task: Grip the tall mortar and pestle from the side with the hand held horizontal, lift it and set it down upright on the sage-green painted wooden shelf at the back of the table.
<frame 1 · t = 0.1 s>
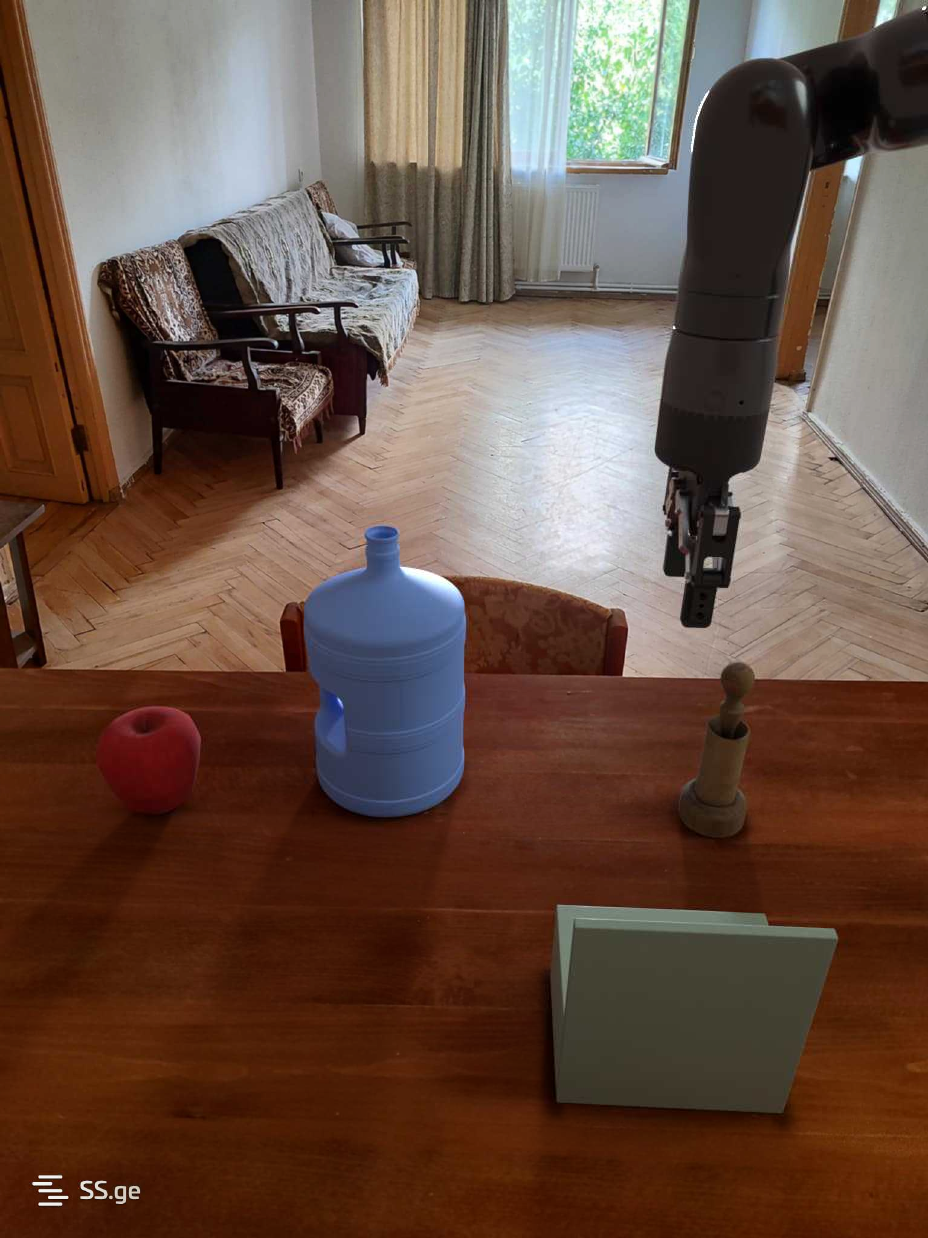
hand: (684, 598, 70), 28 cm above the table, tool pointing down, fingers open, 8 cm apart
mortar and pestle: (710, 817, 89), on the table
apple: (160, 803, 90), on the table
water jug: (391, 773, 95), on the table
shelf: (657, 1035, 68), on the table
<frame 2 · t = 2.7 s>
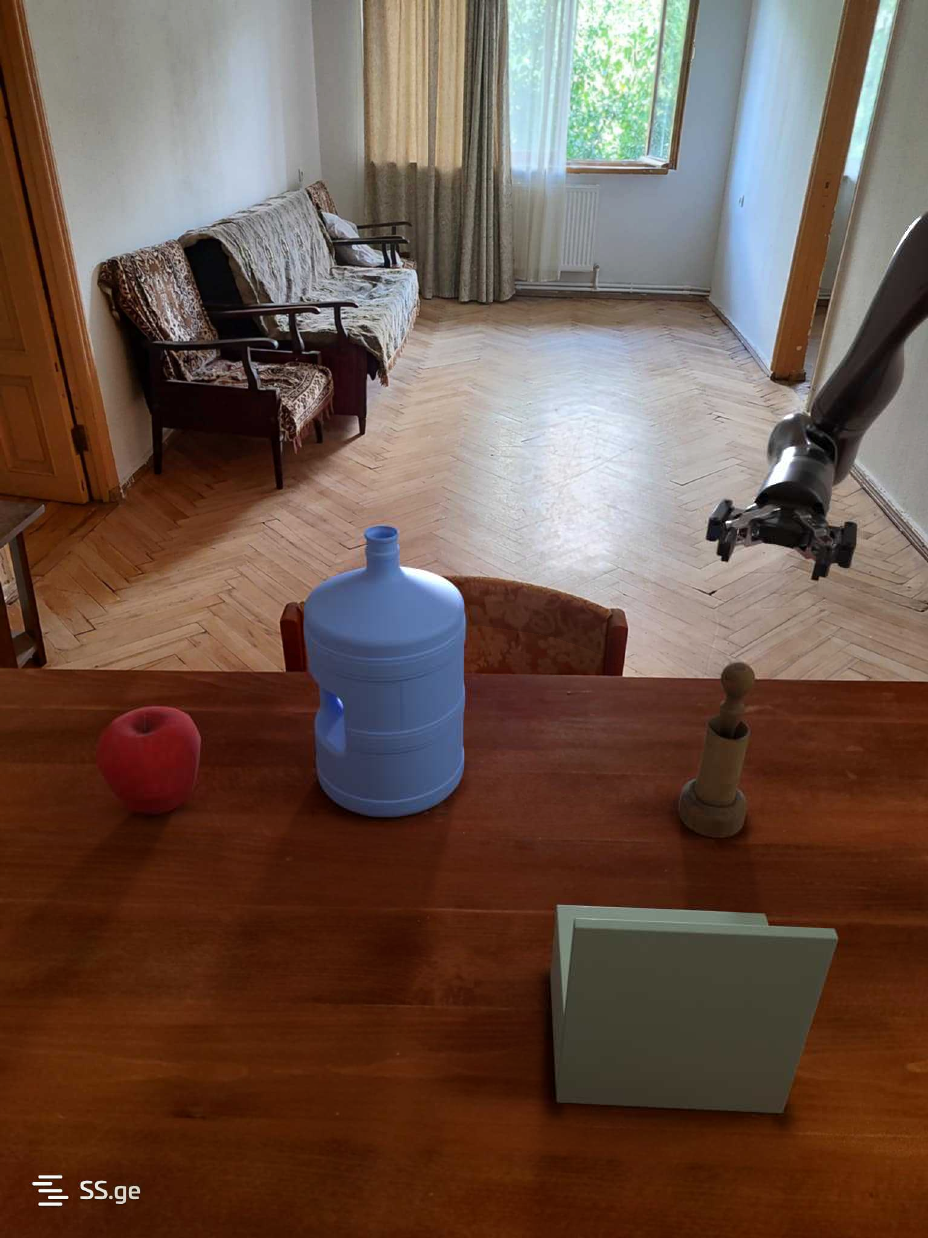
hand: (770, 562, 85), 24 cm above the table, tool horizontal, fingers open, 8 cm apart
nothing on the table moved.
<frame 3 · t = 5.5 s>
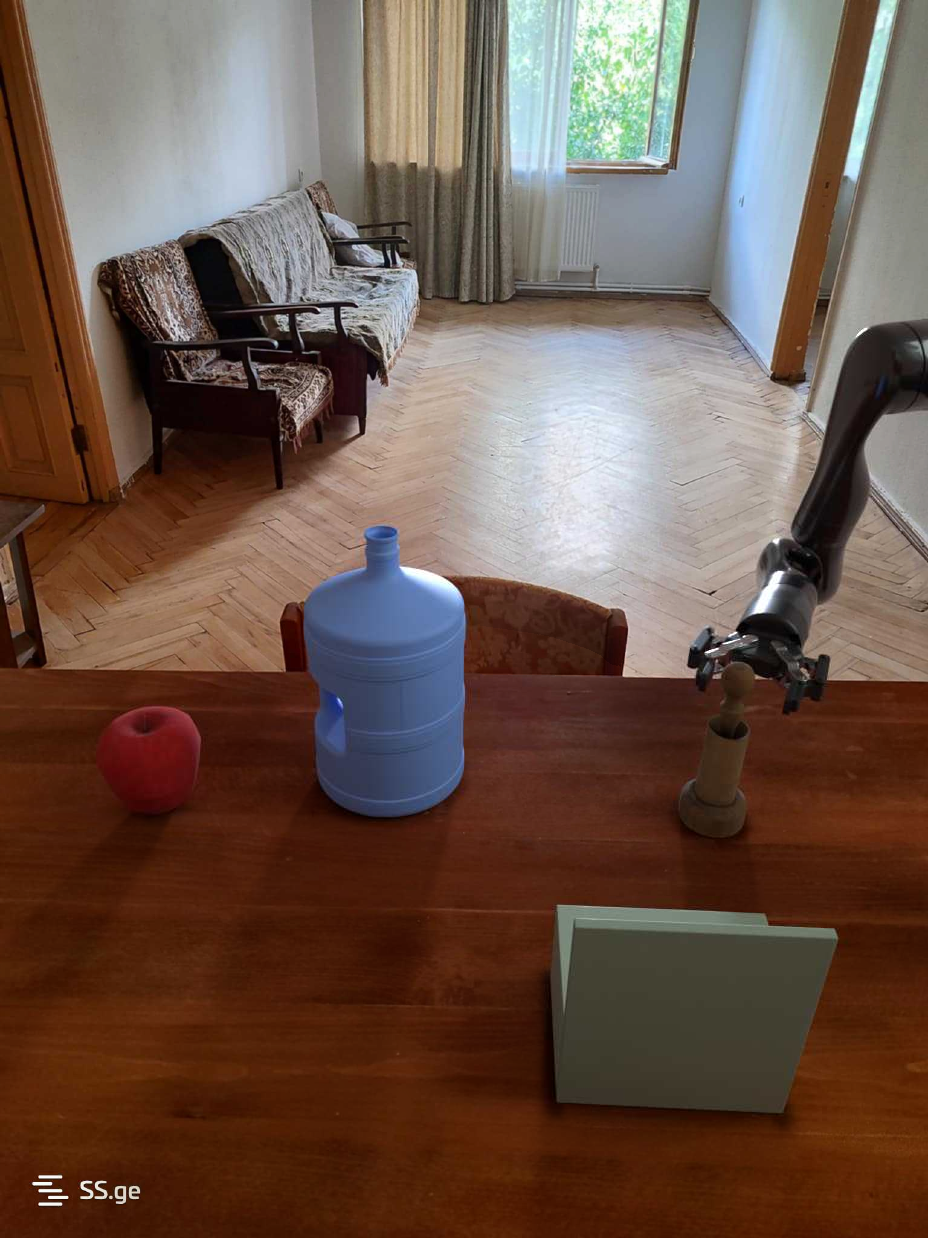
hand: (744, 696, 90), 10 cm above the table, tool horizontal, fingers open, 8 cm apart
nothing on the table moved.
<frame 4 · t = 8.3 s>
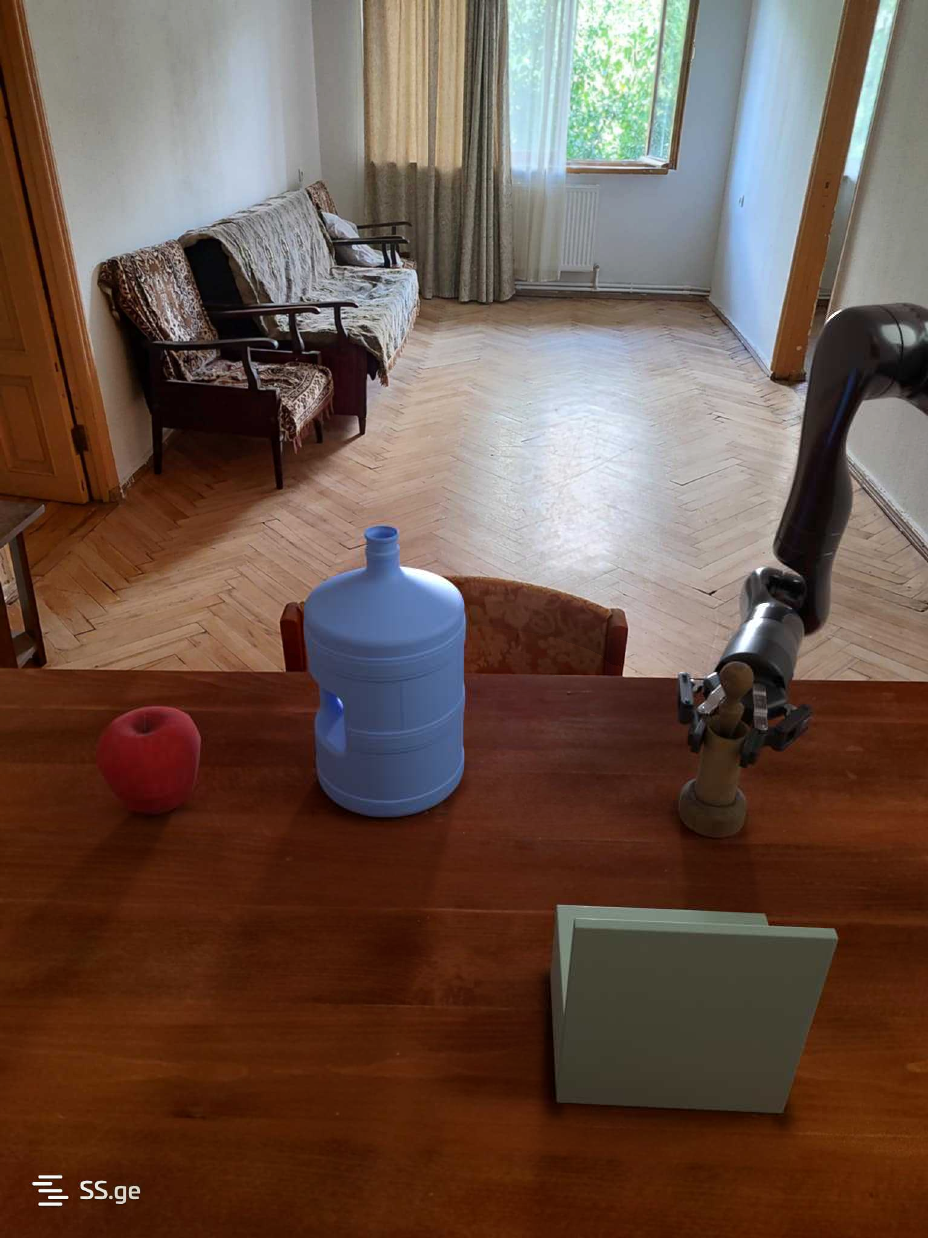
hand: (719, 752, 82), 10 cm above the table, tool horizontal, fingers closed on mortar and pestle, 4 cm apart
mortar and pestle: (710, 817, 89), on the table, touching gripper
everything else where it was.
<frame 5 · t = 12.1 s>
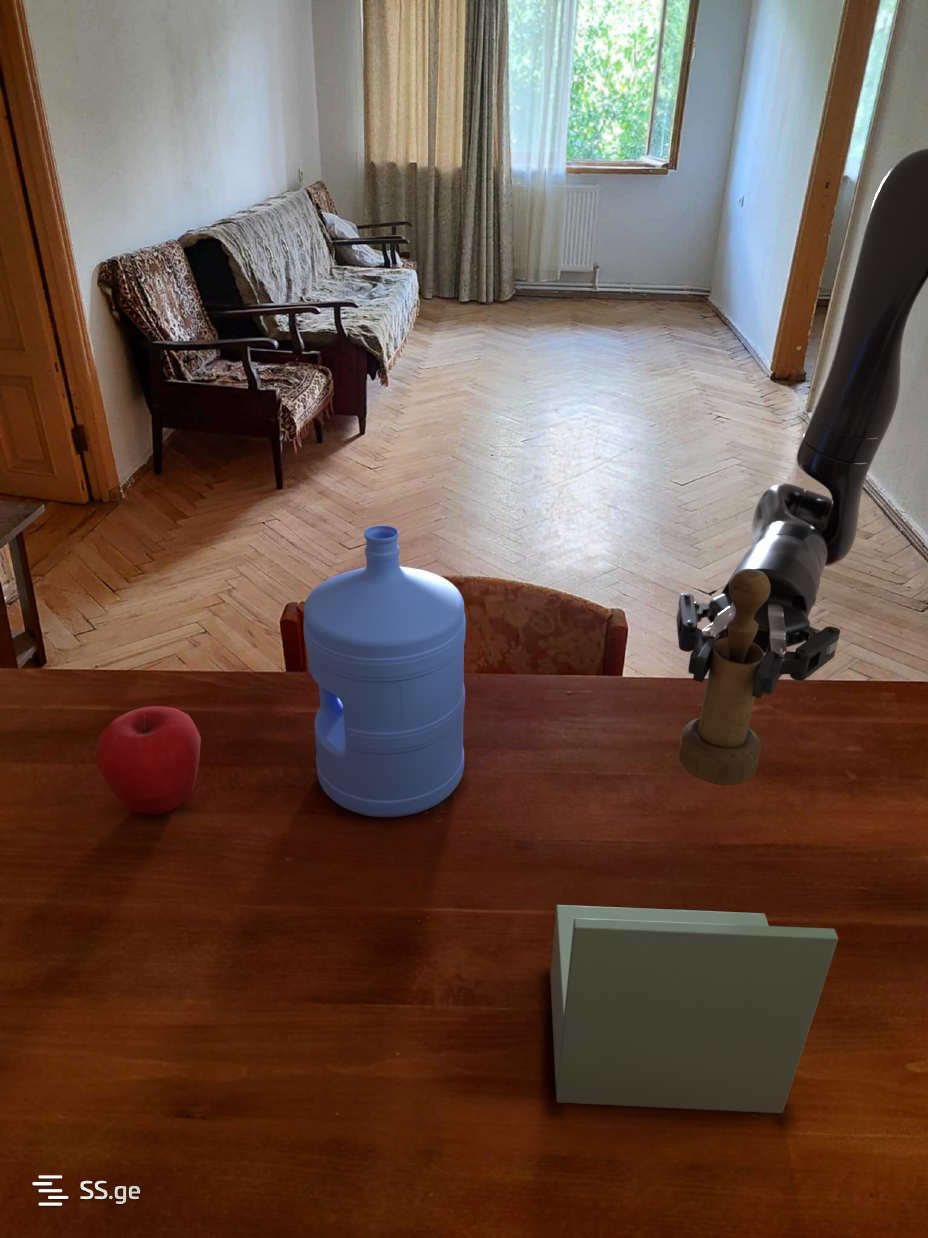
hand: (728, 679, 68), 24 cm above the table, tool horizontal, fingers closed on mortar and pestle, 4 cm apart
mortar and pestle: (716, 762, 75), point 13 cm above the table, touching gripper
everything else where it was.
when the fingers open (18 cm above the table, at t = 16.2 s): mortar and pestle stays where it is, resting on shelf.
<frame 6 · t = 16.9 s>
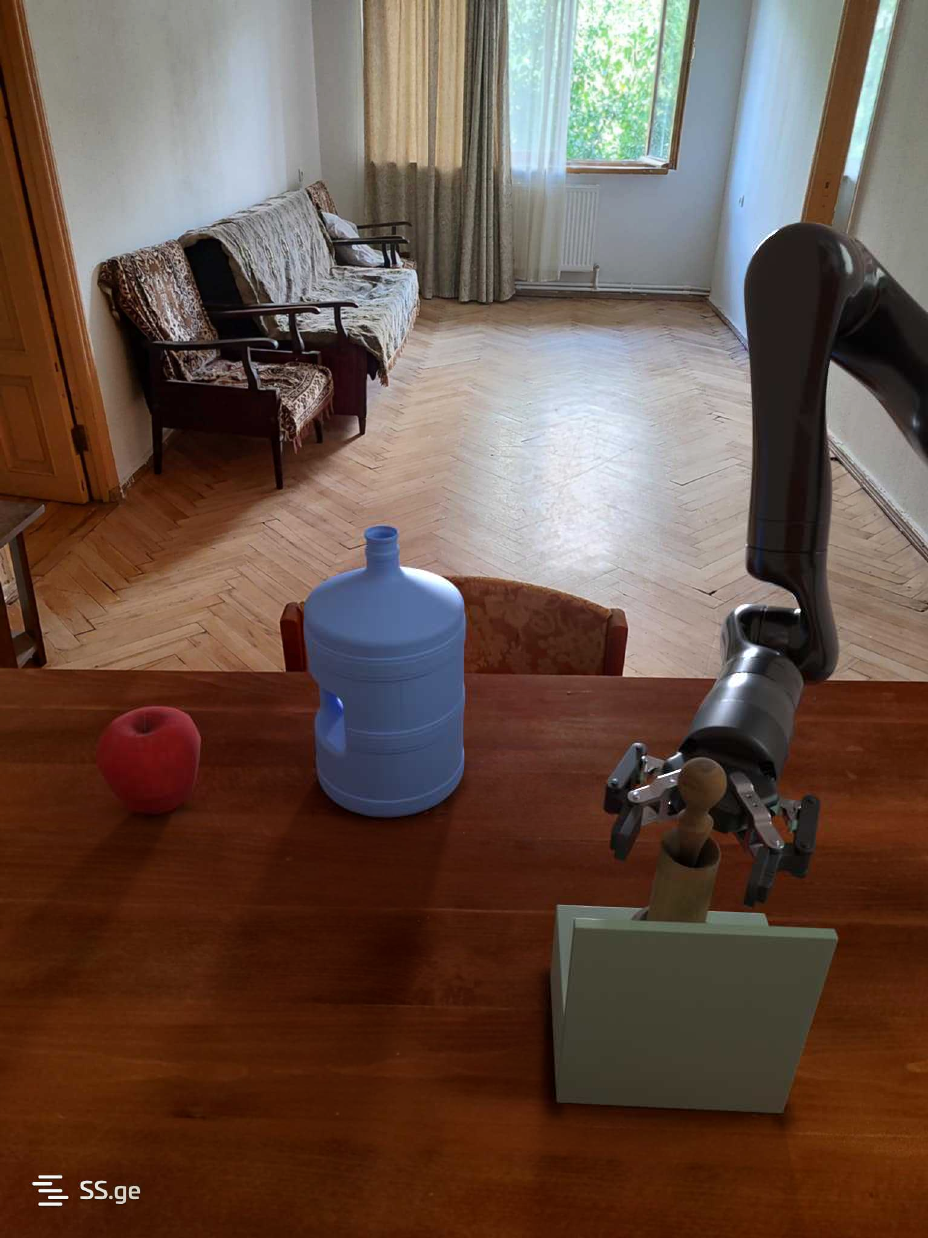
hand: (683, 874, 57), 19 cm above the table, tool horizontal, fingers open, 8 cm apart
mortar and pestle: (668, 962, 64), point 8 cm above the table, touching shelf
everything else where it was.
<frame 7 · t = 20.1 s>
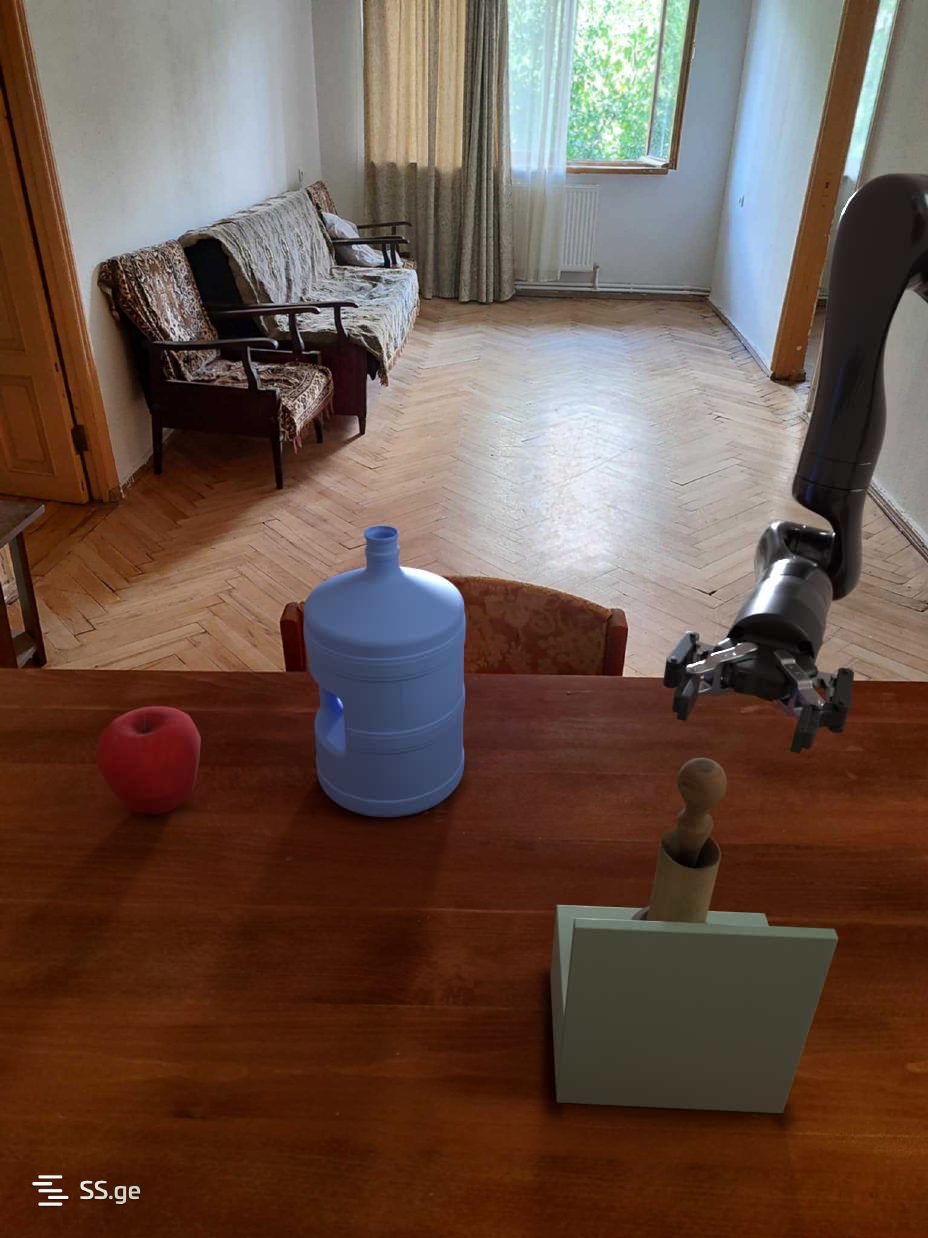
hand: (738, 726, 66), 22 cm above the table, tool horizontal, fingers open, 8 cm apart
nothing on the table moved.
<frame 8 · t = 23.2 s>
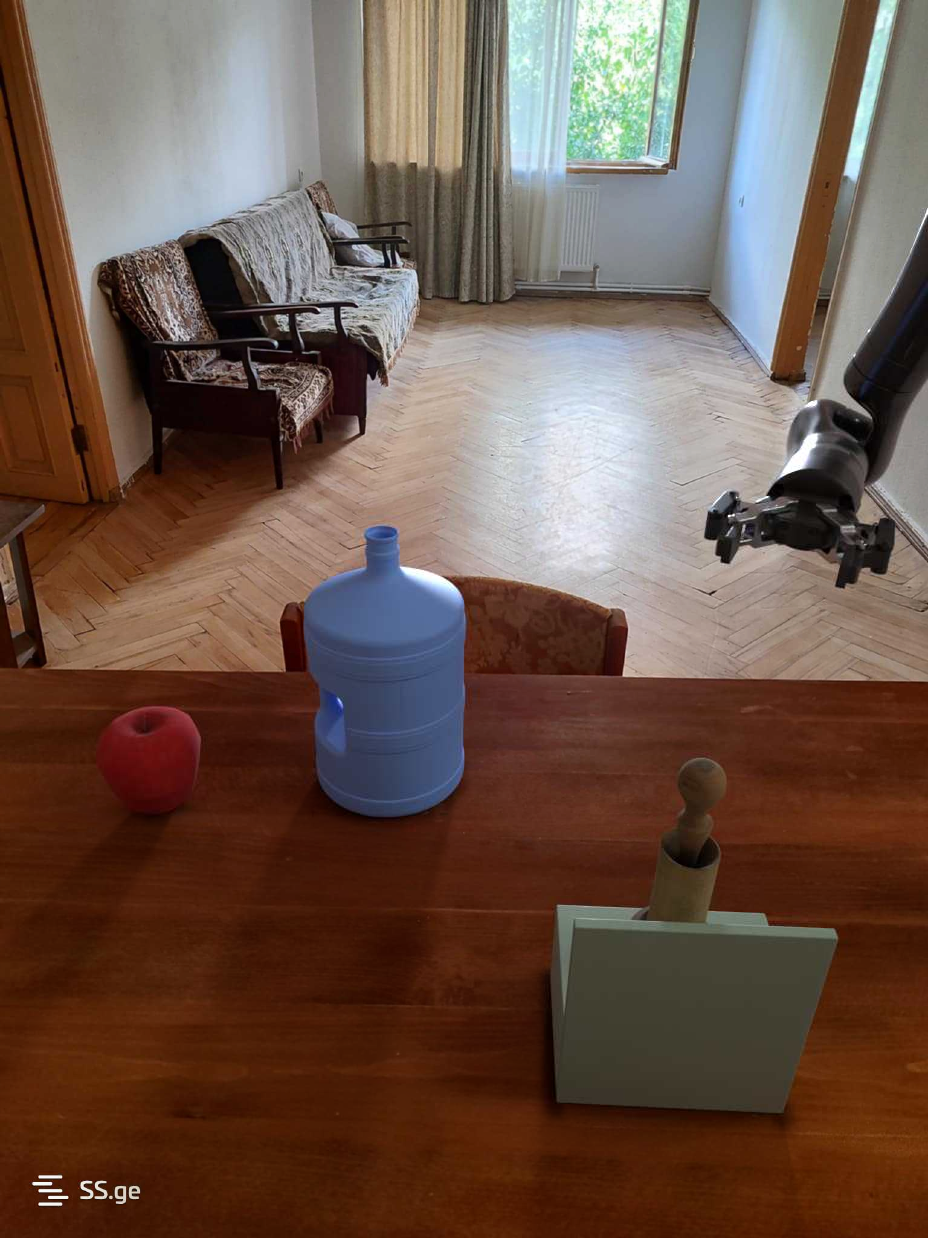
hand: (783, 564, 67), 32 cm above the table, tool horizontal, fingers open, 8 cm apart
nothing on the table moved.
at the end: mortar and pestle inside the target area on the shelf (0.2 cm from its centre), point 8.0 cm above the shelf's base; mortar and pestle tilted 0°; the gripper is holding nothing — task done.
